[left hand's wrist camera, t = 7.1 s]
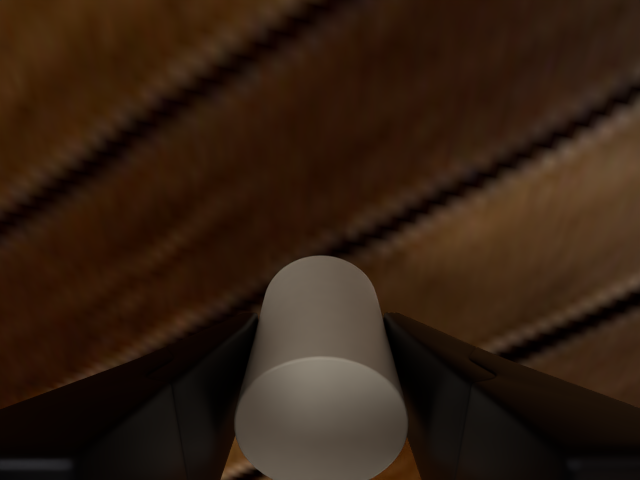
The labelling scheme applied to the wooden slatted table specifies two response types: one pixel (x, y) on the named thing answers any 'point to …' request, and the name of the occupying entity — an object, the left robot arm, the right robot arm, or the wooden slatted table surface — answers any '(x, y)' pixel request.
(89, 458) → the left robot arm
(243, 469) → the wooden slatted table surface
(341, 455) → the cylinder
